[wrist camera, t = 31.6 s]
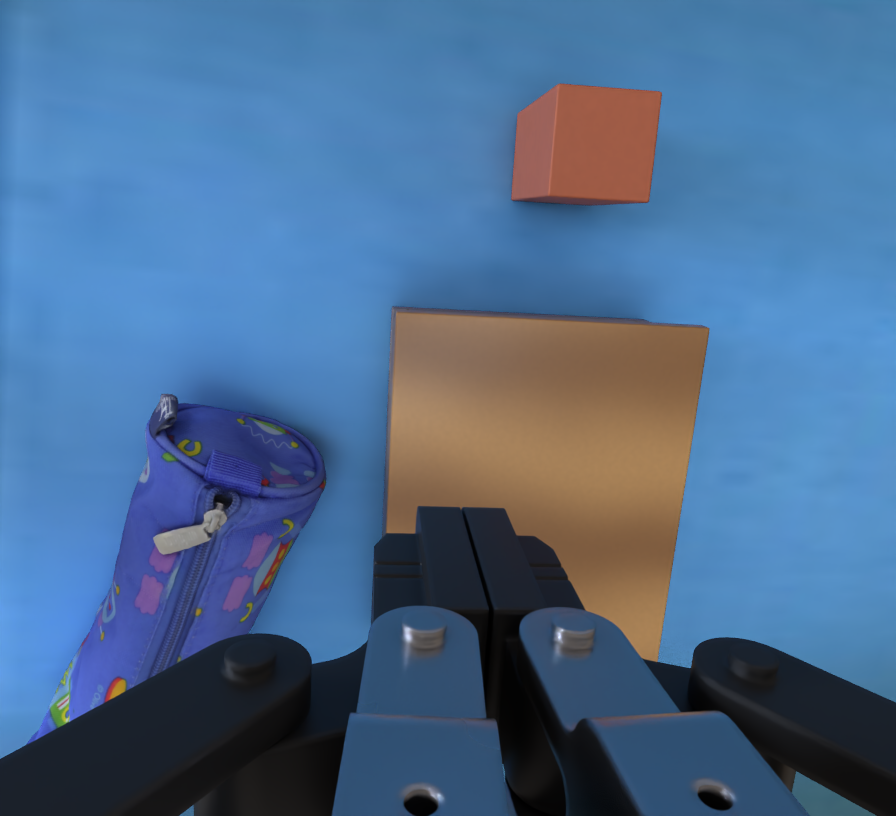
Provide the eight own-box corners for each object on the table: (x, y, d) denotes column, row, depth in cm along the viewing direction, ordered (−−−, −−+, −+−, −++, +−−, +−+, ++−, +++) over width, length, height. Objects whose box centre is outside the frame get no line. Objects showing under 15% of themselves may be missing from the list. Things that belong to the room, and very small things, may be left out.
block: (517, 112, 37) (557, 82, 28) (599, 118, 37) (663, 91, 29) (510, 200, 38) (548, 196, 29) (590, 205, 38) (649, 202, 30)
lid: (395, 309, 31) (396, 311, 31) (702, 324, 33) (710, 327, 32) (377, 700, 36) (377, 711, 36) (644, 699, 38) (650, 709, 37)
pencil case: (190, 364, 38) (130, 411, 29) (344, 428, 40) (335, 491, 31) (54, 710, 42) (-36, 847, 33) (199, 755, 44) (151, 897, 35)
